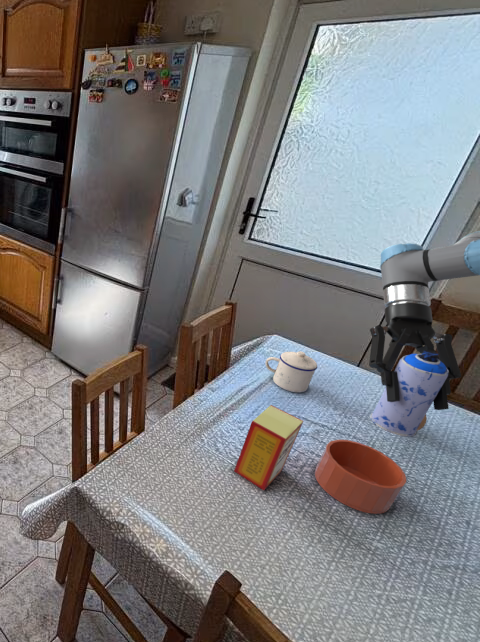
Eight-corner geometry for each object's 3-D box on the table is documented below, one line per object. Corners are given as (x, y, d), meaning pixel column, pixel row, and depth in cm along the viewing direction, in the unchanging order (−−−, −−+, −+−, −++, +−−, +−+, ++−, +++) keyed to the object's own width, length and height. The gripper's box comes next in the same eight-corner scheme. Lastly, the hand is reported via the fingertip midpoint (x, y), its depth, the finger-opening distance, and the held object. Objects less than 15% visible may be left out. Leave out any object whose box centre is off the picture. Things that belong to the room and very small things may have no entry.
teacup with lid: (309, 383, 128) (322, 351, 123) (306, 397, 121) (319, 365, 116) (263, 368, 135) (274, 337, 130) (258, 381, 129) (269, 350, 124)
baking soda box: (252, 453, 103) (271, 403, 97) (282, 470, 98) (304, 419, 92) (233, 471, 99) (252, 420, 92) (263, 490, 94) (285, 438, 87)
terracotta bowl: (388, 483, 95) (403, 458, 91) (392, 525, 86) (409, 499, 82) (316, 455, 102) (327, 431, 99) (312, 490, 93) (325, 465, 90)
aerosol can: (414, 422, 97) (455, 351, 88) (417, 442, 91) (461, 368, 83) (369, 407, 101) (404, 339, 93) (370, 425, 96) (406, 354, 88)
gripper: (450, 318, 97) (464, 416, 90) (344, 306, 103) (349, 397, 96) (478, 308, 90) (494, 414, 83) (363, 296, 97) (369, 393, 90)
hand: (417, 404), depth 90 cm, fingers closed on aerosol can, 7 cm apart
